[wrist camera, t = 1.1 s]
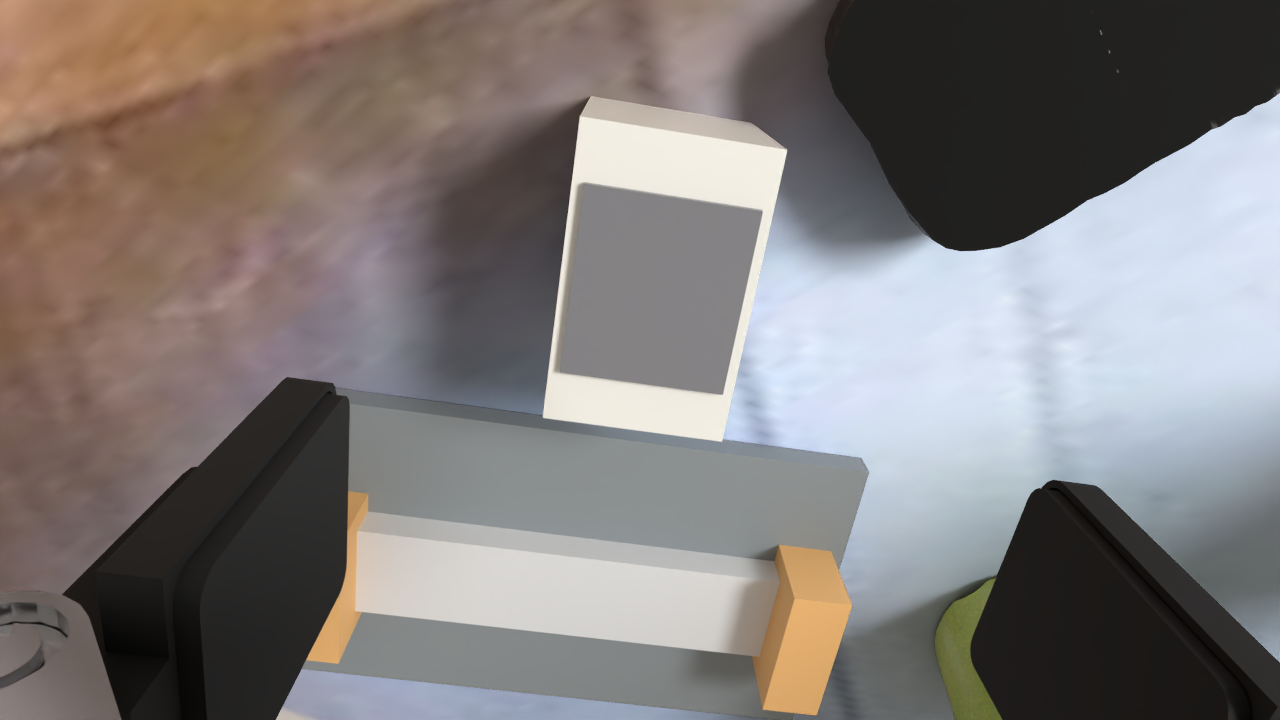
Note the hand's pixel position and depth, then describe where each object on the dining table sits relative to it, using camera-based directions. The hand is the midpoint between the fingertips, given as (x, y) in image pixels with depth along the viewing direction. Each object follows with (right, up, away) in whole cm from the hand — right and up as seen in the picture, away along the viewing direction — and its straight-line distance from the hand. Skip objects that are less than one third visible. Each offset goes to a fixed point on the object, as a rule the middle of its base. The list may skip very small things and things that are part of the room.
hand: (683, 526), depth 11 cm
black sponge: (+13, +13, +13) cm, 23 cm away
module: (0, +6, +15) cm, 16 cm away
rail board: (-3, -5, +20) cm, 21 cm away
